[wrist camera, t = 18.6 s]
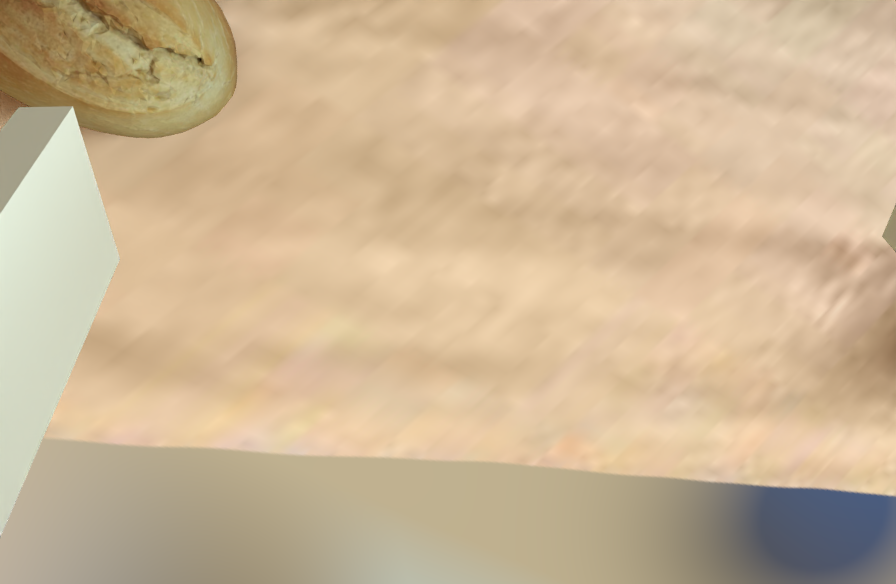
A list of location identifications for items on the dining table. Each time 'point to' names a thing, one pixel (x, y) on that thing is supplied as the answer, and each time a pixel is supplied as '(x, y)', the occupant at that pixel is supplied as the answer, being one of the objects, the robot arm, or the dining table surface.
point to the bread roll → (120, 61)
